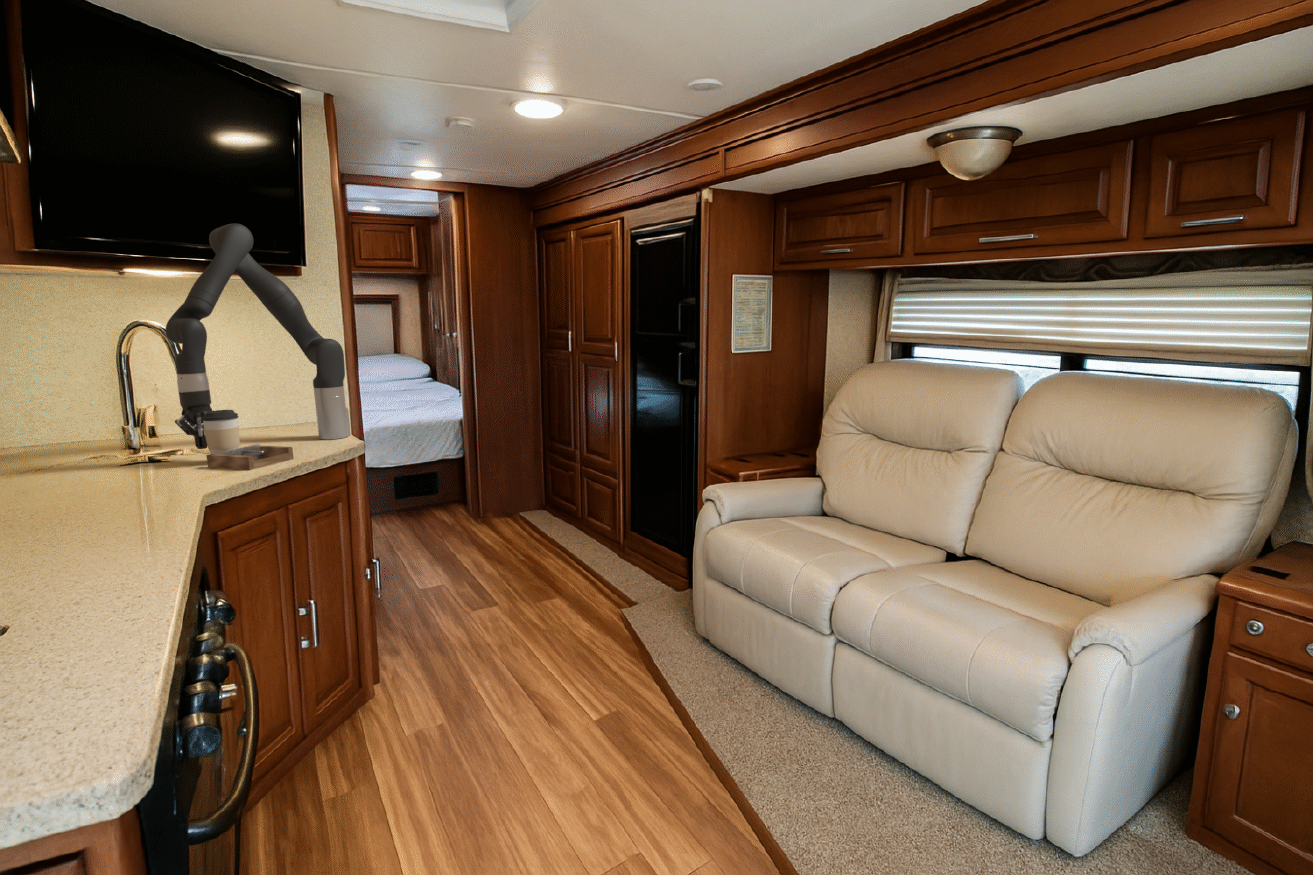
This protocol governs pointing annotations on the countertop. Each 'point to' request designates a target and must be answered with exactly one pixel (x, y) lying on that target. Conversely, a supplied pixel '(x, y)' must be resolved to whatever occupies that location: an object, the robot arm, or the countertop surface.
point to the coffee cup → (221, 430)
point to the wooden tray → (251, 458)
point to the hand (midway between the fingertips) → (202, 448)
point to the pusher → (246, 451)
